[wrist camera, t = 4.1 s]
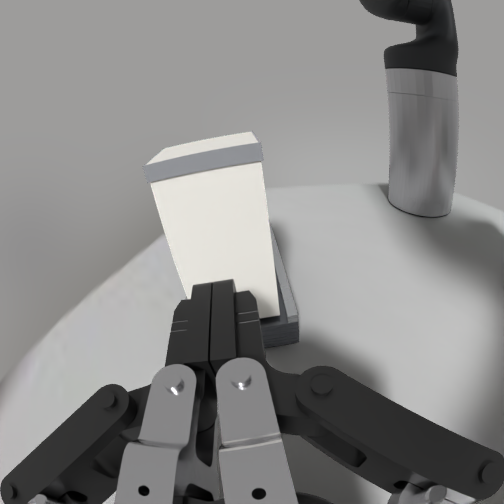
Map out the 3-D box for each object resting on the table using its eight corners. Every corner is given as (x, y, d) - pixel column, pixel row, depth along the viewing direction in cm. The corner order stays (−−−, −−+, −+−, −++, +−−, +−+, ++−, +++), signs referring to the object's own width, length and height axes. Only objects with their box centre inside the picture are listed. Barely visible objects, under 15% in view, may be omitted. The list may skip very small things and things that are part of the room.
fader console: (298, 342, 17) (297, 314, 16) (193, 356, 17) (180, 331, 16) (270, 237, 29) (267, 214, 28) (204, 248, 29) (198, 226, 28)
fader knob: (281, 315, 16) (260, 142, 11) (196, 328, 16) (142, 166, 11) (272, 274, 20) (252, 131, 15) (201, 285, 20) (163, 148, 15)
